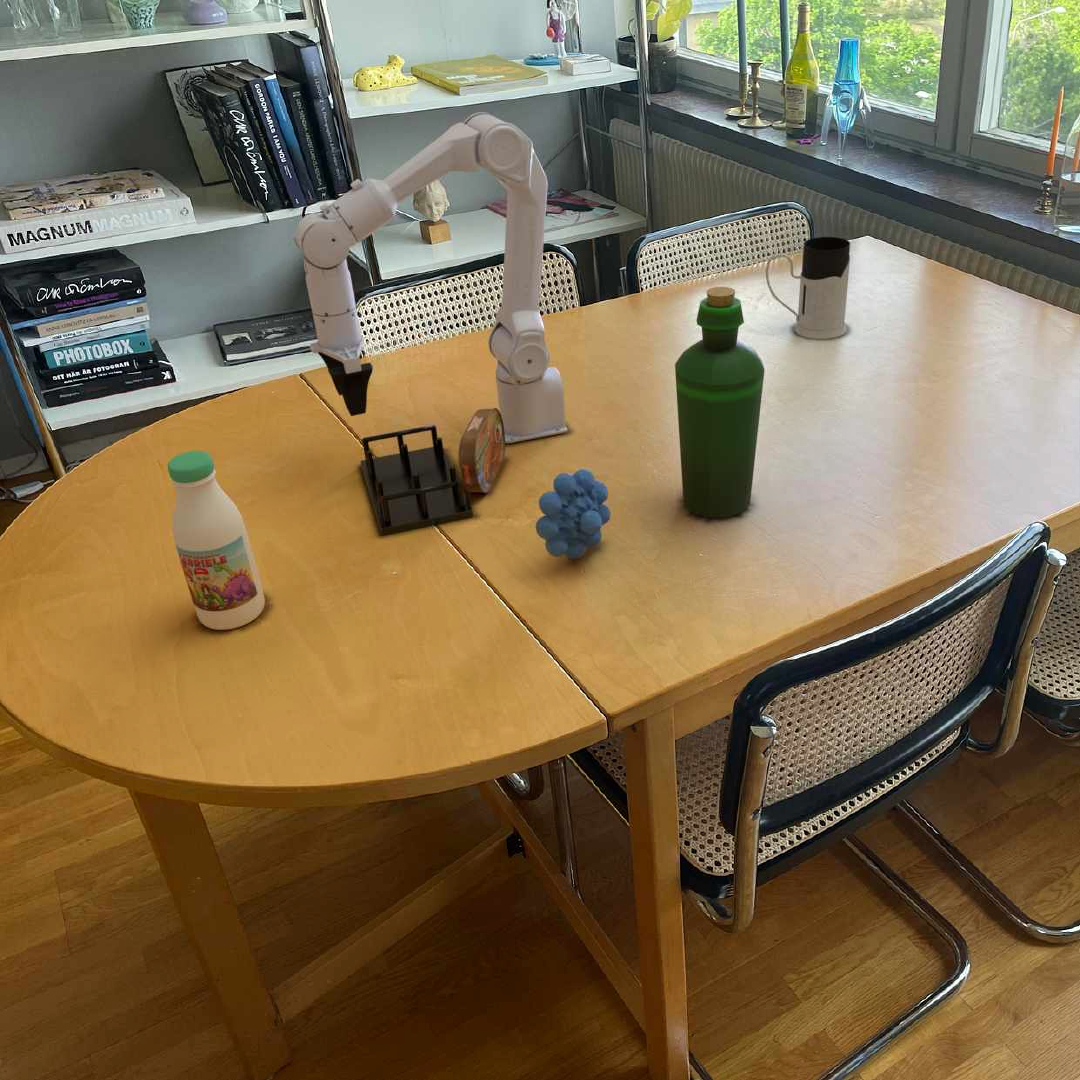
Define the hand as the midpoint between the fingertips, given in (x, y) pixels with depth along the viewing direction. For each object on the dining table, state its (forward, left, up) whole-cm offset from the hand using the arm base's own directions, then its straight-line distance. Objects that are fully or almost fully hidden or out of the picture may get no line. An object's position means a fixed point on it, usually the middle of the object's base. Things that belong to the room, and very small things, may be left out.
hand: (351, 403), depth 143 cm
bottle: (-42, +29, -10) cm, 52 cm away
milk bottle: (+19, +30, -10) cm, 37 cm away
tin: (-16, +10, -10) cm, 21 cm away
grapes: (-22, +35, -10) cm, 42 cm away
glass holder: (-80, -19, -10) cm, 83 cm away
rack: (-6, +10, -10) cm, 15 cm away
